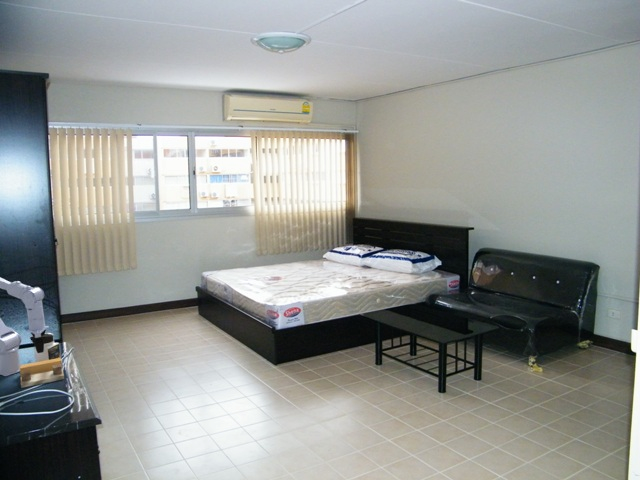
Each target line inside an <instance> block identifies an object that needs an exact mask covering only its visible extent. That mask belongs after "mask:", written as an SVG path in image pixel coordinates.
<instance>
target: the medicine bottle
mask: <svg viewBox="0 0 640 480" xmlns="http://www.w3.org/2000/svg"><path fill="white" fill-rule="evenodd" d="M44 335H46V338H45V341H44V351H43V352H42V353H37V351H36V348H35V346H34V347H33V351H34V360H35V362H40V361H46V360H51V359H56V358H61V351H60V350H61V349H60V343H59V342H55V339H54V334H53V333H51V332H45V334H44ZM35 362H34V363H35Z"/></svg>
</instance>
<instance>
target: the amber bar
mask: <svg viewBox="0 0 640 480" xmlns="http://www.w3.org/2000/svg"><path fill="white" fill-rule="evenodd" d="M59 364H61V368H62V369H63V364H62V358H61V357H60V358H56V359H51V360H46V361H40V362H32V363H31V362H30V363H26V364H25V363H24V364H20V372H19V373H20V378H21V377H22V376H21V372H23V371H28V370H30V375H34V374H39V373H44V372H49V371H53V366H54V365H59Z"/></svg>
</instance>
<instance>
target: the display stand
mask: <svg viewBox="0 0 640 480" xmlns="http://www.w3.org/2000/svg"><path fill="white" fill-rule="evenodd" d="M21 376H22V377H21ZM61 380H65V374H64V369H63V367H62V368H61V364H59V365H54V366H53V371H49V372H44V373H39V374H34V375H30V370H28V371H23V372H21V374H20V387H21V389H22V388H27V387H33V386H37V385H42V384H47V383H53V382H56V381H57V382H58V381H61Z"/></svg>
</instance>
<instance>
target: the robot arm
mask: <svg viewBox="0 0 640 480" xmlns="http://www.w3.org/2000/svg"><path fill="white" fill-rule="evenodd" d="M0 289H1V290H4V291H6V292H7V294H8V295H10V296H12V297H15V298H17V299H19V300H21V301H22V302H23V304H24V308H25V309H26V313H27V321H28V322H27V323H28V332H29V333H30V335H32V336H30V337H29V339H30V341H31V342H32V344H33V345H34V347H35V348H36V351H37V353H42V352H43V351H44V341H45V338H46V335H44V334H45V333H46V331H47V329H48V330H49V328H50V327H49V325H46V322H45V315H44V308H43V299H44V298H45V292H44V290H43V289H42V287H41V288H40V287H39V286H34V287H32V286H30V285H27V284H24V283H22V282H21V281H19V280H17V281H16V280H15V281H13V282H12V281H8V280H6V279H5V278H2V277H0ZM21 344H22V337H21V335H20V334H19V333H18V332H16V331H15V330H14V328H13V327H9V326H7V325H6V324H5V323H4V321H3V320H2V318H1V317H0V375H2V376H3V377H7V376H11V375H13V374H17V373H20V365H21V363H20V355H19V348H20V346H21Z"/></svg>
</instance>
